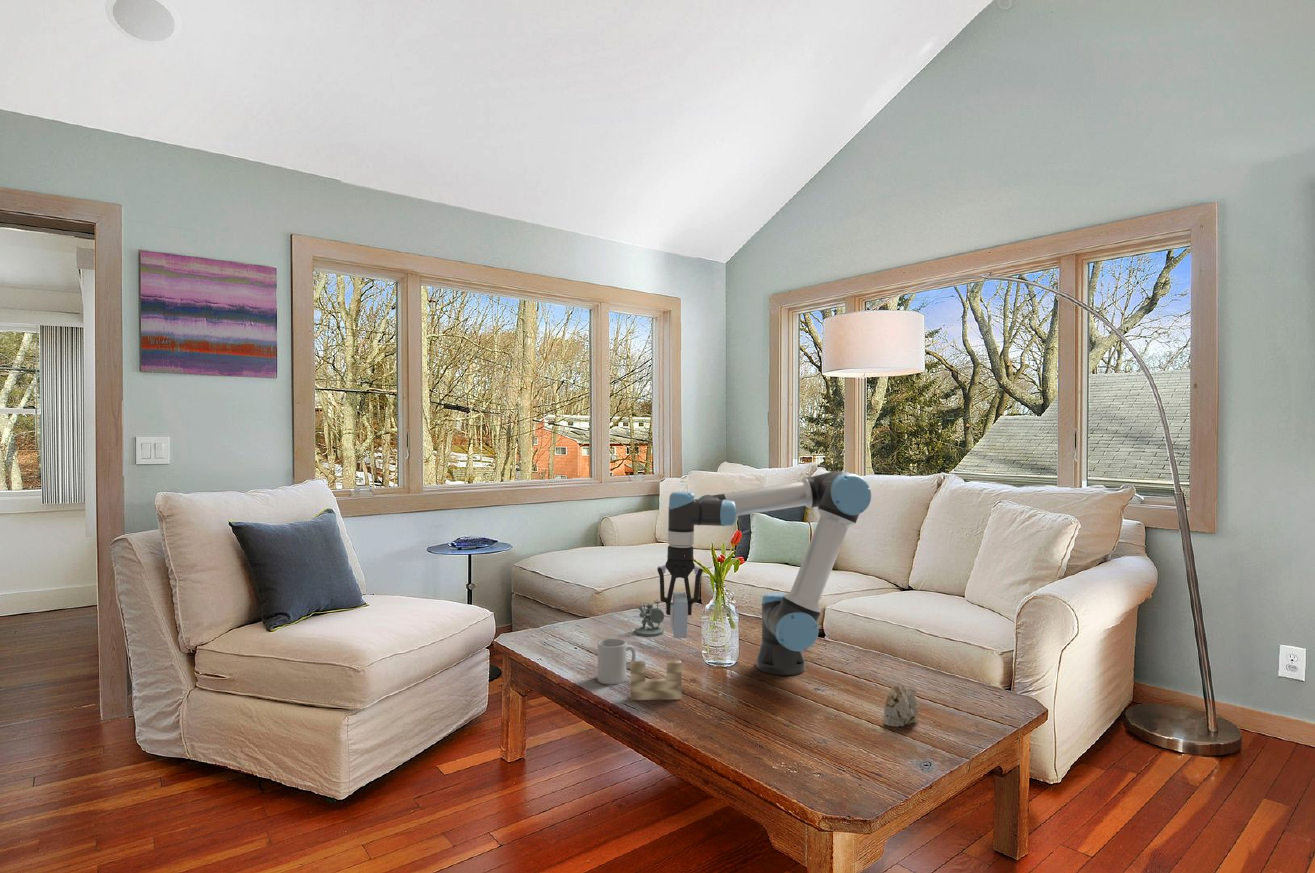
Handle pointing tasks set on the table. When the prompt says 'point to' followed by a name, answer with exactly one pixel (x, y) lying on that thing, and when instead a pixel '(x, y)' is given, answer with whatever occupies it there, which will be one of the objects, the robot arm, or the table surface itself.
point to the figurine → (650, 620)
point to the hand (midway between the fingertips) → (678, 625)
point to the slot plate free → (679, 615)
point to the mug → (613, 660)
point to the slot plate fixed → (656, 683)
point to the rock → (900, 707)
